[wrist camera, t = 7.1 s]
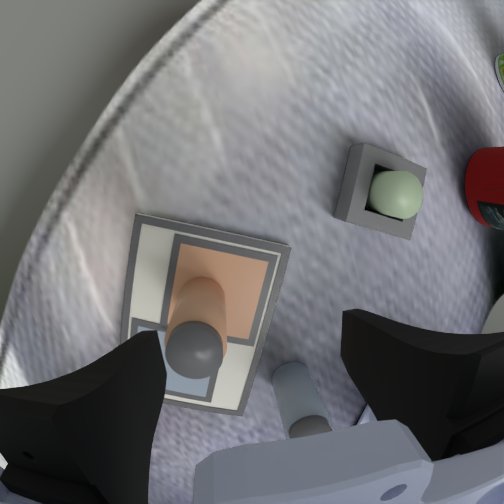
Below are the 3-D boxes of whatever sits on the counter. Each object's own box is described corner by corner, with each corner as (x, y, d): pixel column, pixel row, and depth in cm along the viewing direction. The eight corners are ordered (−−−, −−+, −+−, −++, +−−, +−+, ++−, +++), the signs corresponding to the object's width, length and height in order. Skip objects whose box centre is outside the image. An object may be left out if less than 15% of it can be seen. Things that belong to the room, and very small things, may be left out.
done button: (400, 178, 19) (427, 179, 16) (391, 217, 20) (417, 224, 17) (366, 165, 19) (390, 164, 16) (356, 206, 19) (379, 211, 16)
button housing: (409, 169, 20) (426, 168, 18) (394, 234, 21) (410, 240, 19) (350, 146, 19) (364, 142, 17) (333, 217, 20) (345, 221, 18)
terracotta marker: (229, 282, 20) (233, 333, 13) (220, 323, 20) (220, 387, 14) (183, 272, 19) (164, 319, 13) (176, 314, 20) (157, 375, 13)
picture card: (289, 245, 20) (291, 247, 20) (241, 410, 23) (242, 416, 22) (138, 212, 19) (135, 213, 18) (121, 387, 22) (118, 392, 21)
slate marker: (314, 364, 23) (343, 423, 16) (302, 393, 23) (325, 454, 16) (277, 359, 22) (297, 422, 15) (267, 390, 23) (281, 454, 16)
